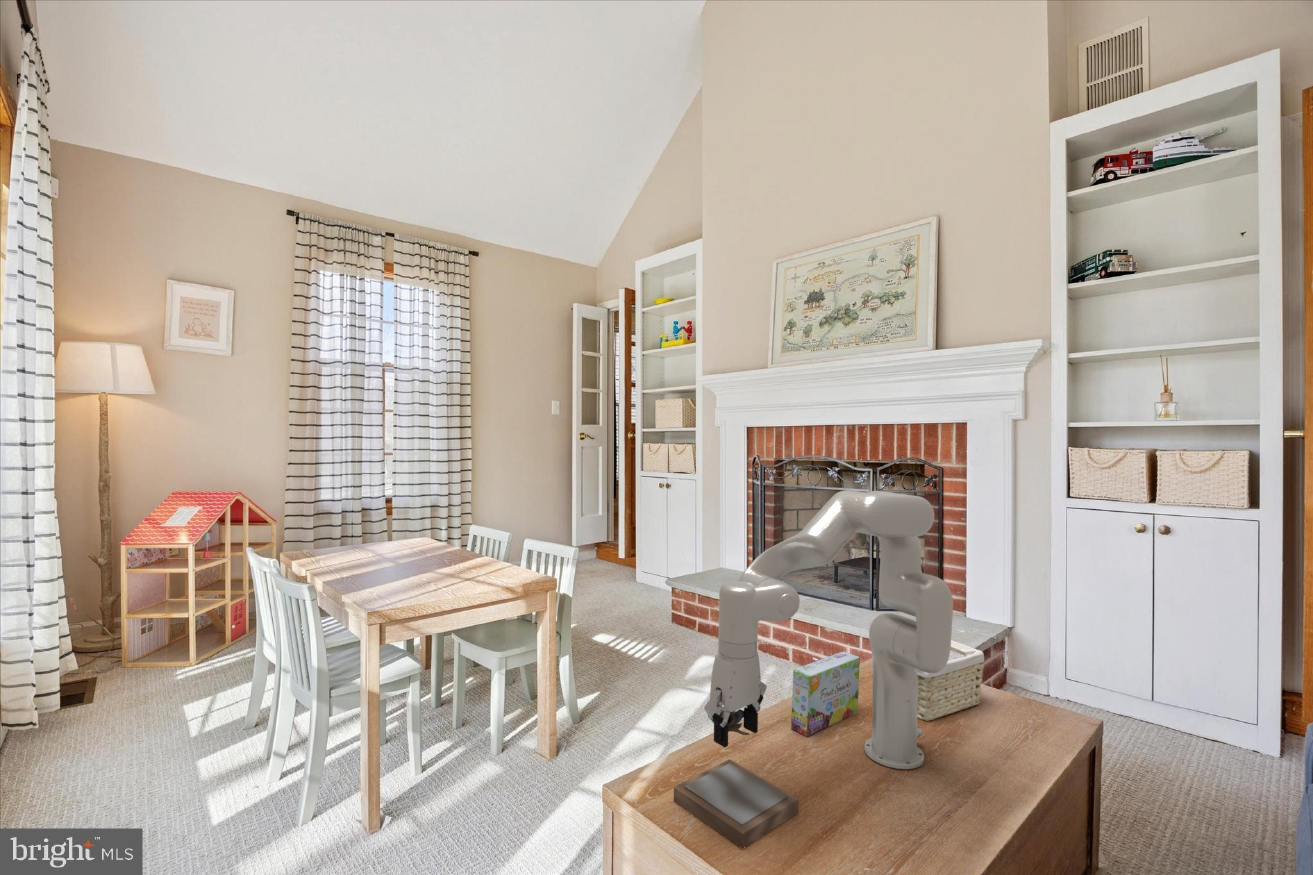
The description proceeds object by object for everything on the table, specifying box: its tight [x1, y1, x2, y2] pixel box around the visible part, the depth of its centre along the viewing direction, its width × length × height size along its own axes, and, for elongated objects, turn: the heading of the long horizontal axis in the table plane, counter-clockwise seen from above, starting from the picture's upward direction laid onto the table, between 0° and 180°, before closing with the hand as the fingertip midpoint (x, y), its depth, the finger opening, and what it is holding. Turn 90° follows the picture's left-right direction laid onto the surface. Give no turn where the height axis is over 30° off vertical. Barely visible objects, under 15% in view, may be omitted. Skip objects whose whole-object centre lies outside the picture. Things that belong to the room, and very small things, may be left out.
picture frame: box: [673, 758, 800, 850], centre depth 120 cm, size 16×18×3 cm
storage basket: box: [915, 639, 985, 722], centre depth 166 cm, size 24×16×15 cm
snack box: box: [790, 651, 861, 737], centre depth 155 cm, size 21×6×15 cm, turn 129°
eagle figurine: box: [712, 706, 750, 736], centre depth 122 cm, size 8×7×9 cm
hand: (735, 736), depth 119 cm, fingers closed on eagle figurine, 7 cm apart
